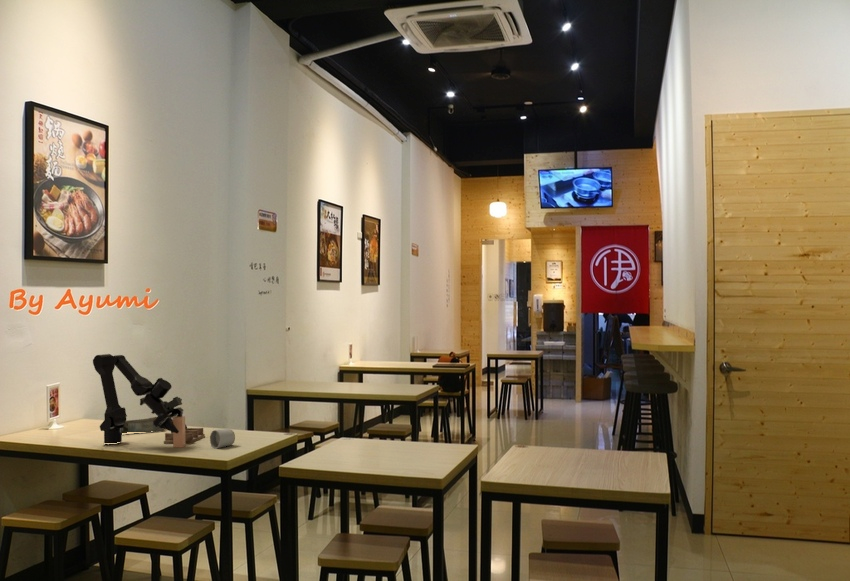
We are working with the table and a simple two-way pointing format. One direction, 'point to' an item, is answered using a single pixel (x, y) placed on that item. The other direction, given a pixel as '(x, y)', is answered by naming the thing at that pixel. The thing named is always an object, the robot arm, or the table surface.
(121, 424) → the robot arm
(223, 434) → the grey cup
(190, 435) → the slotted wooden tray
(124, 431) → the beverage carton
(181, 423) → the clay slab
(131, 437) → the table surface
